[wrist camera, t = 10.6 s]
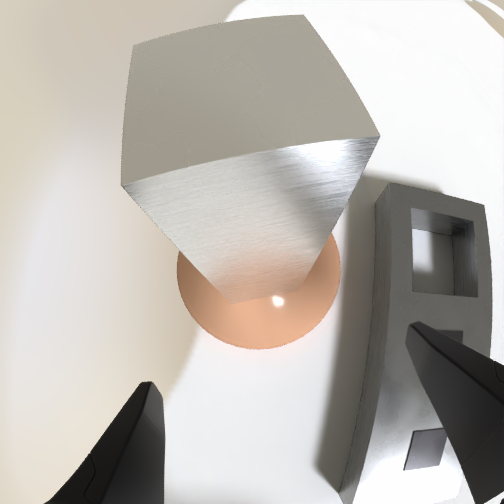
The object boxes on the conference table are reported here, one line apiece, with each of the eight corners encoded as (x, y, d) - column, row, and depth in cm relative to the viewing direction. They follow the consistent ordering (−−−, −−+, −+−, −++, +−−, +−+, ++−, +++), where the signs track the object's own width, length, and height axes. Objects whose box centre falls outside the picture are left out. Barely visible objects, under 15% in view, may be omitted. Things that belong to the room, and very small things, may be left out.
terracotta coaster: (229, 378, 17) (227, 380, 16) (157, 243, 20) (152, 239, 19) (366, 293, 18) (370, 290, 17) (282, 173, 21) (283, 166, 20)
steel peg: (298, 290, 17) (380, 135, 4) (231, 304, 17) (121, 185, 4) (283, 227, 19) (303, 14, 5) (220, 240, 19) (133, 45, 5)
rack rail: (437, 482, 14) (456, 497, 11) (338, 494, 14) (348, 515, 11) (463, 220, 19) (484, 204, 16) (375, 202, 20) (389, 181, 17)
